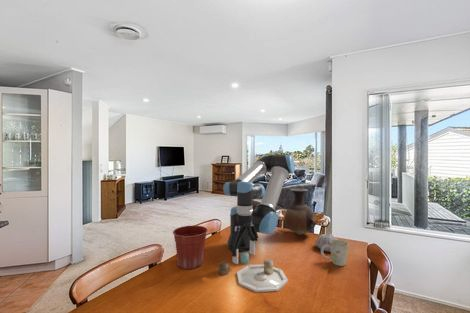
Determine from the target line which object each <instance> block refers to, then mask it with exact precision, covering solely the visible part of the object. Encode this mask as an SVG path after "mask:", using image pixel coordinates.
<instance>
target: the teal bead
mask: <svg viewBox="0 0 470 313" xmlns="http://www.w3.org/2000/svg"><path fill="white" fill-rule="evenodd" d="M249 262H250V252H248V251H241V252H240V264H242V265H247V264H248V265H249Z"/></svg>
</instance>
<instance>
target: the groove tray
mask: <svg viewBox="0 0 470 313" xmlns="http://www.w3.org/2000/svg"><path fill="white" fill-rule="evenodd" d="M236 277H237V282H238V285H239V286H242V287H244V288H246V289H248V290H251V291H252V292H255V293H266V292H267V293H268V292H278V291H280V290H281V289H282V288H283V287H284V285H286V284H287V283H288V282H289V279H288V278H287V276H286V274H285V273H284V271H283V269H280V268H278V267H275V266H273V274H271V275H267V274H265V273H264V263H263V264H248V265H247V264H246V266H244V267H243V268H241V269H240V270H238V271H236Z"/></svg>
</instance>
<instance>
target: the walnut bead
mask: <svg viewBox="0 0 470 313" xmlns="http://www.w3.org/2000/svg"><path fill="white" fill-rule="evenodd" d="M218 265H219V266H218V267H219V268H218V269H219V271H218V273H219V275H220V276H227V275H228V274H229V262H228V261H221V262H219V264H218Z"/></svg>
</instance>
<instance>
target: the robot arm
mask: <svg viewBox="0 0 470 313" xmlns="http://www.w3.org/2000/svg"><path fill="white" fill-rule="evenodd" d="M294 172H295V161H294V157H293V156H292V155H291V154H267V155H264V156H262V157H260V158H258V159H257V160H256V161H254V162H253V165H252V166H251V167H249V168H247V170H246V171H244V172H243V173H242V174H240V175H239V176H238V177H237V178H236V179H234V180H233V181H227V182H225V183H224V184H223V193H224V195H225V196H230V197H235V198H236V199H237V201H236V202H237V204H236V205H235V206H232V208H230V214H229V216H230V218H229V220H230V221H229V222H230V223H229V224H230V228H229V230H230V232H229V233H230V234H229V237H228V240H227V245H226V246H227V249H229V250H231V256H232V263H233V264H236V265H237V264H238V265H239V252H249V255H250V254H251V255H253V256H255V254H256V242H257V241H258V239H259V235H258V233H259V234H262V235H270V234H273V233H274V232H275V231H276V229H277V226H278V221H279V215H278V214H277V211H276V206H277V204H278V201H279V198H280V195H281V192H282V189H283V186H284V183H285V180H286V179H288V177H289V176H290V174H293V173H294ZM266 173H271V175H270V178H269V180H268V183H267V185H266V188H265V187H264V184H262V183H253V182H254V181H256V180H257V179H258V178H259V177H260V176H261V175H262V176H263V175H264V174H266ZM260 198H261V201H260V203H258V204H257V205H256V207H255V209H253V204H254V203H253V202H254V200H256V199H260Z"/></svg>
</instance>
